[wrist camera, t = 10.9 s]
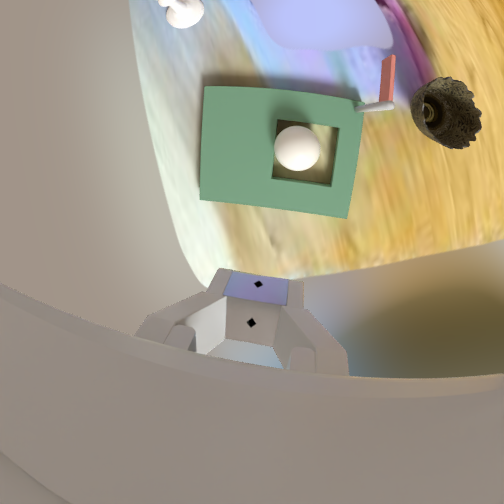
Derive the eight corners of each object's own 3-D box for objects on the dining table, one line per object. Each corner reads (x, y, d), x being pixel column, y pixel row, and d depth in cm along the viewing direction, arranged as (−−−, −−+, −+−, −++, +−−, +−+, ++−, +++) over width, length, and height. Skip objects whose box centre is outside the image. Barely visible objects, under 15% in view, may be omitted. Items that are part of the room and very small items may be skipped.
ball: (328, 124, 27) (309, 137, 32) (283, 115, 26) (270, 130, 31) (327, 169, 27) (308, 177, 32) (281, 161, 26) (267, 171, 31)
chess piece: (204, 24, 25) (171, -4, 16) (168, 32, 26) (126, 11, 17) (203, -6, 23) (172, -38, 14) (167, 2, 24) (128, -23, 15)
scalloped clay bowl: (386, 93, 26) (410, 87, 19) (432, 76, 24) (464, 69, 16) (412, 149, 28) (440, 160, 21) (455, 130, 26) (490, 137, 19)
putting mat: (210, 64, 28) (159, 39, 16) (364, 79, 26) (403, 58, 14) (203, 196, 36) (155, 239, 24) (345, 214, 34) (367, 269, 22)
